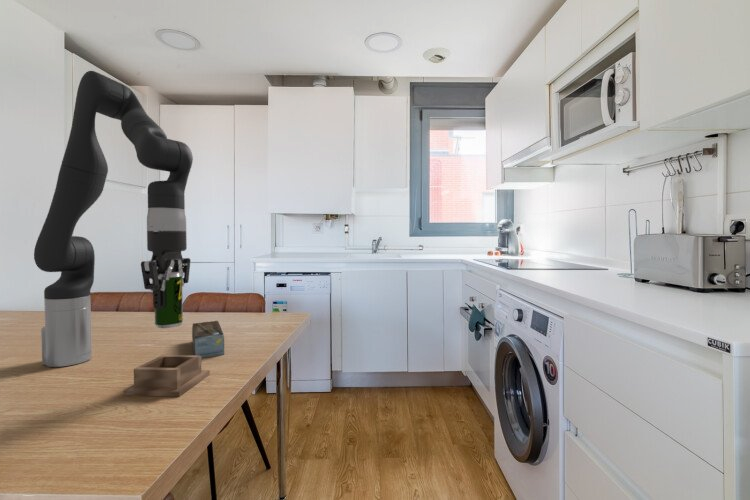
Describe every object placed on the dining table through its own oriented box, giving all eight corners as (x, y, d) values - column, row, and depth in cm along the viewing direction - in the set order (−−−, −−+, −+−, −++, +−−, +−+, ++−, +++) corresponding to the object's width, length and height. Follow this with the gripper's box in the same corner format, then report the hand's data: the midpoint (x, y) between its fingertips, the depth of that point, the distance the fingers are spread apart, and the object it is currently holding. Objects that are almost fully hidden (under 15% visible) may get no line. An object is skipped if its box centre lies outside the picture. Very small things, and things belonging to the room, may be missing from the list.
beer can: (155, 329, 75) (154, 273, 75) (154, 324, 80) (153, 271, 80) (184, 326, 78) (183, 272, 78) (181, 321, 83) (180, 270, 82)
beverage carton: (193, 359, 96) (193, 335, 96) (192, 342, 113) (191, 321, 113) (225, 355, 100) (224, 332, 100) (219, 339, 117) (218, 319, 117)
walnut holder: (123, 395, 74) (123, 371, 74) (161, 373, 86) (161, 353, 85) (179, 396, 73) (179, 372, 73) (209, 374, 85) (209, 353, 85)
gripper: (171, 230, 86) (172, 300, 86) (126, 228, 72) (128, 312, 72) (201, 230, 85) (202, 300, 86) (162, 228, 71) (163, 312, 72)
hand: (168, 305), depth 79 cm, fingers closed on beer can, 5 cm apart
